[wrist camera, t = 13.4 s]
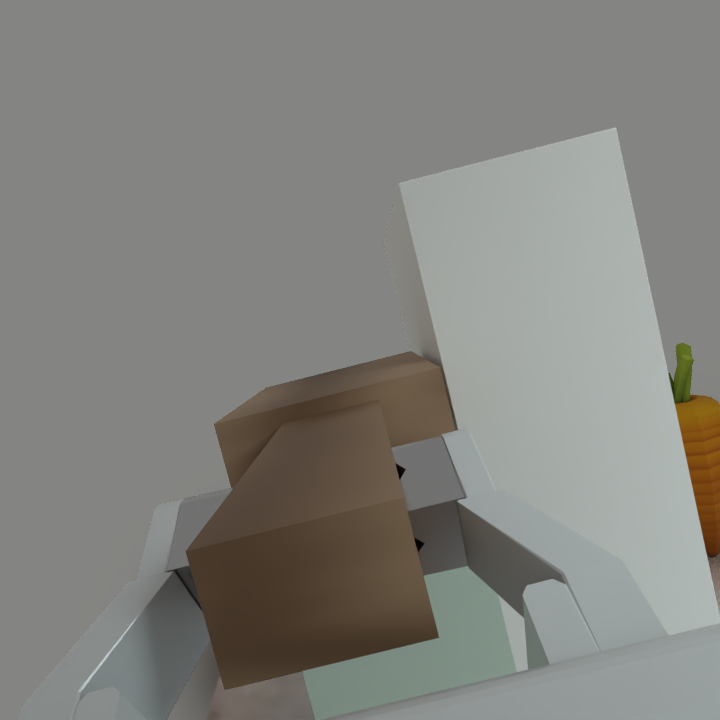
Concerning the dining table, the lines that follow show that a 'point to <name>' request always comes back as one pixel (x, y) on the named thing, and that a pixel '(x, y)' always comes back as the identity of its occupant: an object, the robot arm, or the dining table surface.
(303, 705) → the dining table surface
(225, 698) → the dining table surface
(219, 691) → the dining table surface
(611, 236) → the white two-tone stepped block
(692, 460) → the carrot
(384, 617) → the brown block
